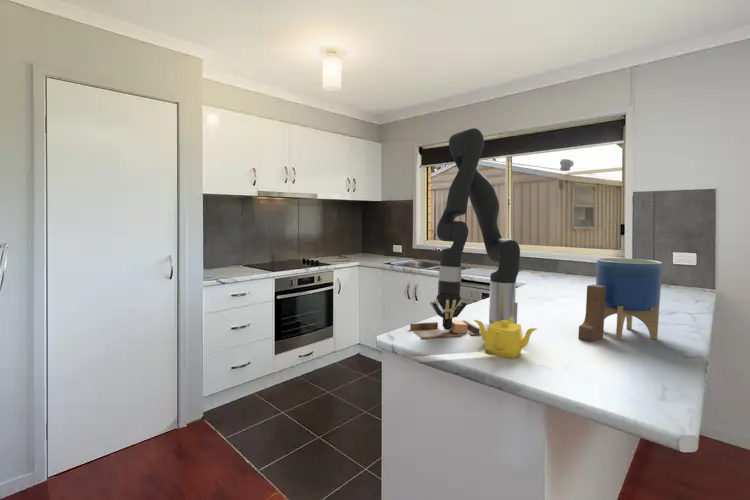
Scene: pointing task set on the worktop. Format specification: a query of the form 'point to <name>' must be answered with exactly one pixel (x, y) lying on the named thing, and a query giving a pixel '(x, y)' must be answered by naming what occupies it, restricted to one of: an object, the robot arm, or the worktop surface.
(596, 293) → the wooden block
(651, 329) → the planter
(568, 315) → the worktop surface
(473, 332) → the box
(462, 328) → the block
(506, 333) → the teapot
